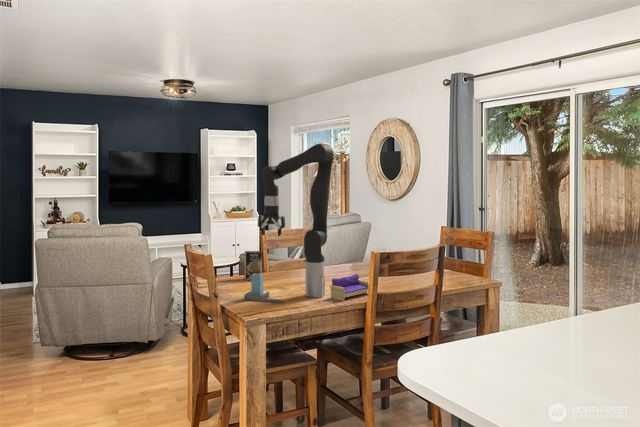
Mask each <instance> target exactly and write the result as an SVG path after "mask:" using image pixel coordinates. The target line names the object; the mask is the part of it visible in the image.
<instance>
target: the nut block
mask: <svg viewBox="0 0 640 427" xmlns="http://www.w3.org/2000/svg"><path fill="white" fill-rule="evenodd" d="M264 276H265V275H264V273H261V274H259V273H254V274H252V280H251V282H250V283H251V285H250V286H251V289H250V291H251V295H263V294H264V284H265V283H264V281H265V280H264Z"/></svg>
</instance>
